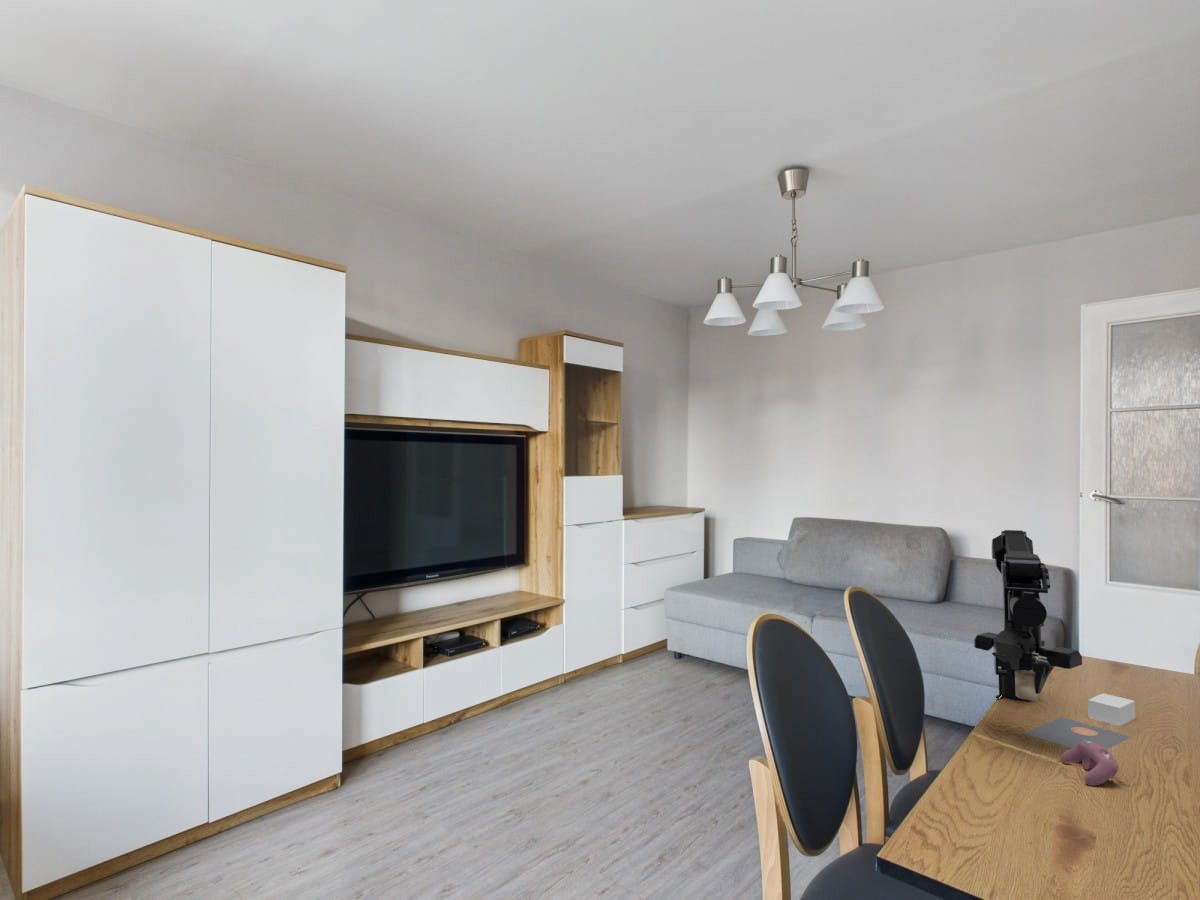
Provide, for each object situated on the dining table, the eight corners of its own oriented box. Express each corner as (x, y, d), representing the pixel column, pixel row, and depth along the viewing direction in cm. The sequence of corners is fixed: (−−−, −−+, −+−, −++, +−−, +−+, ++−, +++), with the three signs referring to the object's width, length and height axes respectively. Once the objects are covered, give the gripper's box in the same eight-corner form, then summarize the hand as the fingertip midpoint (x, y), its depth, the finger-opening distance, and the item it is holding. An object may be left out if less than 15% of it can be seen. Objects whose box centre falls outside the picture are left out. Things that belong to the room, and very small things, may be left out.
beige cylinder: (1011, 695, 137) (1011, 672, 137) (1021, 692, 139) (1020, 668, 139) (1032, 701, 133) (1031, 677, 133) (1042, 697, 135) (1041, 673, 136)
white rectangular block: (1088, 722, 147) (1087, 699, 147) (1103, 714, 151) (1103, 693, 151) (1120, 731, 141) (1119, 708, 142) (1135, 723, 146) (1134, 700, 146)
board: (1023, 737, 138) (1023, 733, 138) (1061, 720, 147) (1061, 716, 147) (1094, 759, 127) (1094, 755, 127) (1131, 740, 136) (1130, 736, 136)
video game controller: (1110, 797, 116) (1128, 763, 115) (1084, 784, 117) (1103, 750, 116) (1079, 772, 125) (1096, 740, 125) (1056, 760, 126) (1072, 728, 126)
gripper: (959, 612, 140) (961, 685, 140) (1054, 630, 124) (1057, 712, 124) (987, 606, 146) (989, 675, 146) (1082, 622, 130) (1084, 700, 130)
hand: (1026, 690), depth 136 cm, fingers closed on beige cylinder, 4 cm apart
